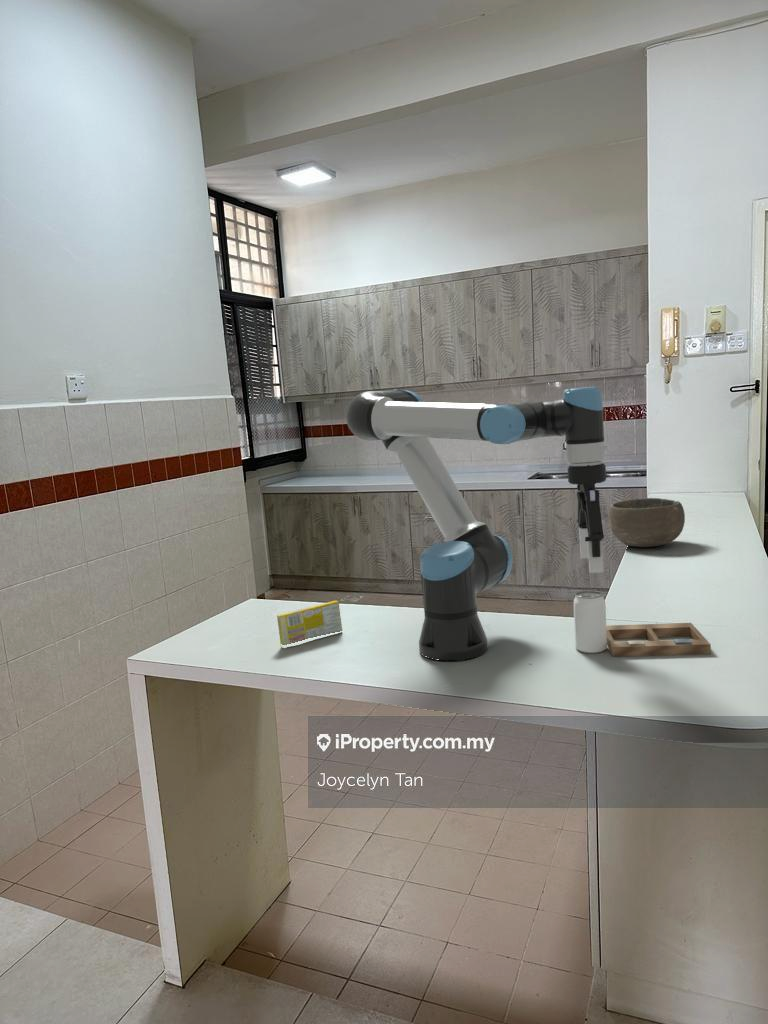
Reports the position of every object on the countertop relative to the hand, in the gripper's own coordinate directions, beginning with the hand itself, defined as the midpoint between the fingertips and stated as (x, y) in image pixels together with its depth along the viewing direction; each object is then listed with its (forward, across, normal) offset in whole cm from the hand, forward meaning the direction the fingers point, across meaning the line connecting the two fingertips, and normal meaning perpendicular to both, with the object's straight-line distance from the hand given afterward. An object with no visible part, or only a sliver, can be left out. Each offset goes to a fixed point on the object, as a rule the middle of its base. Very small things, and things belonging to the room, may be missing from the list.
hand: (591, 564), depth 146 cm
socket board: (+18, +2, -12) cm, 22 cm away
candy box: (+18, +12, +65) cm, 69 cm away
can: (+18, 0, +1) cm, 19 cm away
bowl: (+18, +101, -32) cm, 108 cm away
